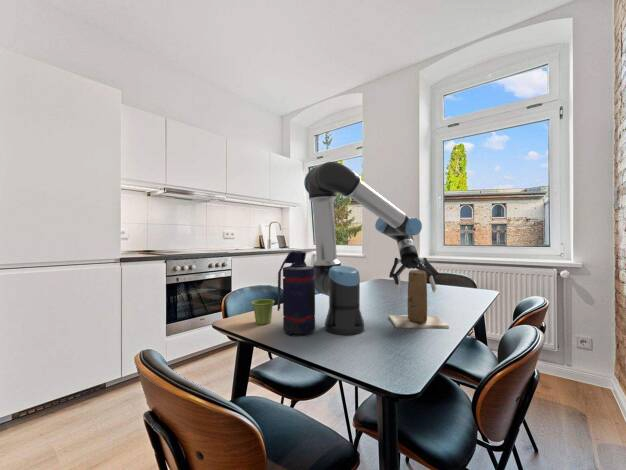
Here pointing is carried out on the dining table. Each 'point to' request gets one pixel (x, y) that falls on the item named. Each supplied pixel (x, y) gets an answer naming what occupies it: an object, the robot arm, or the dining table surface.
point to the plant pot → (263, 310)
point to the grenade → (297, 295)
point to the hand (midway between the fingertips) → (417, 290)
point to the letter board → (404, 322)
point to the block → (417, 296)
